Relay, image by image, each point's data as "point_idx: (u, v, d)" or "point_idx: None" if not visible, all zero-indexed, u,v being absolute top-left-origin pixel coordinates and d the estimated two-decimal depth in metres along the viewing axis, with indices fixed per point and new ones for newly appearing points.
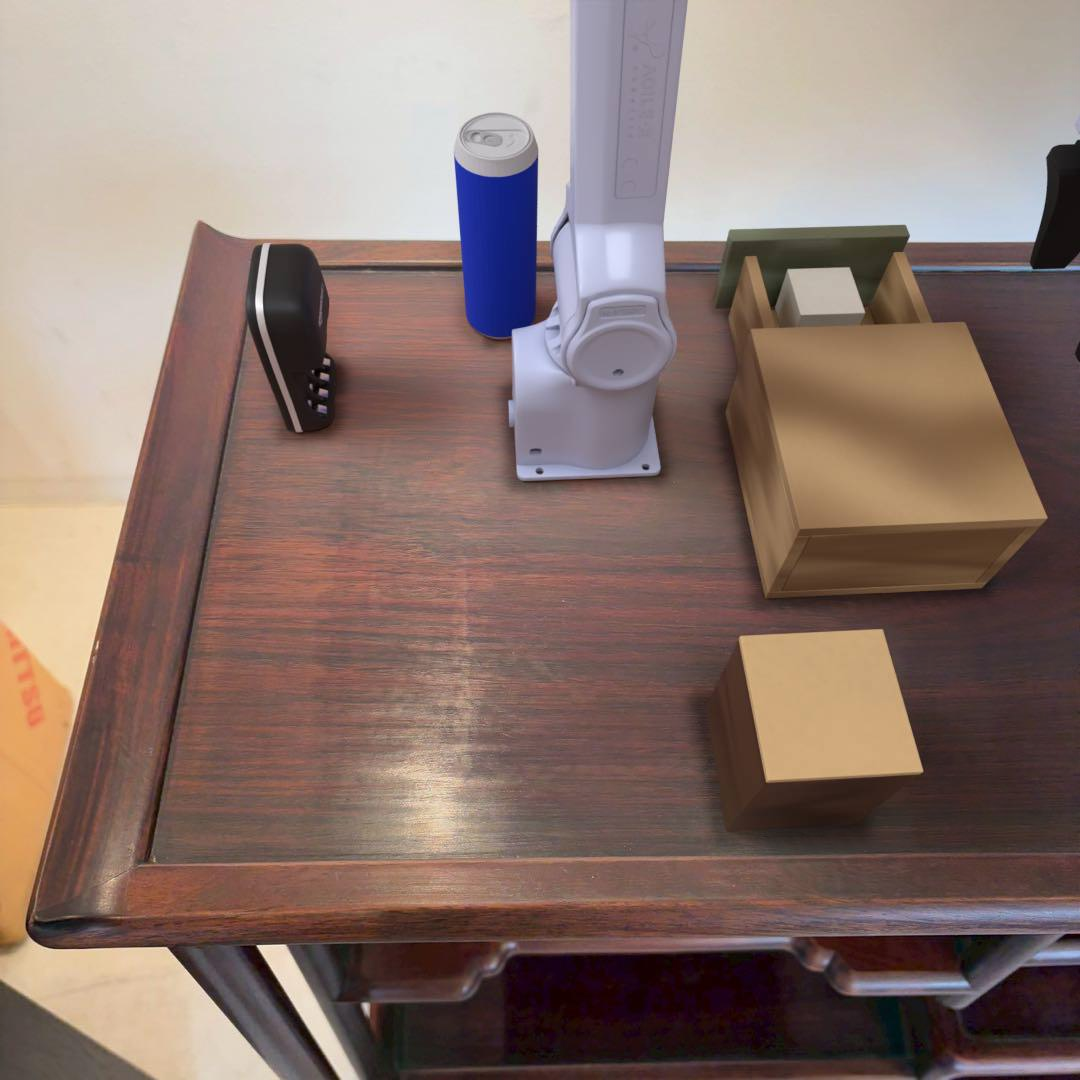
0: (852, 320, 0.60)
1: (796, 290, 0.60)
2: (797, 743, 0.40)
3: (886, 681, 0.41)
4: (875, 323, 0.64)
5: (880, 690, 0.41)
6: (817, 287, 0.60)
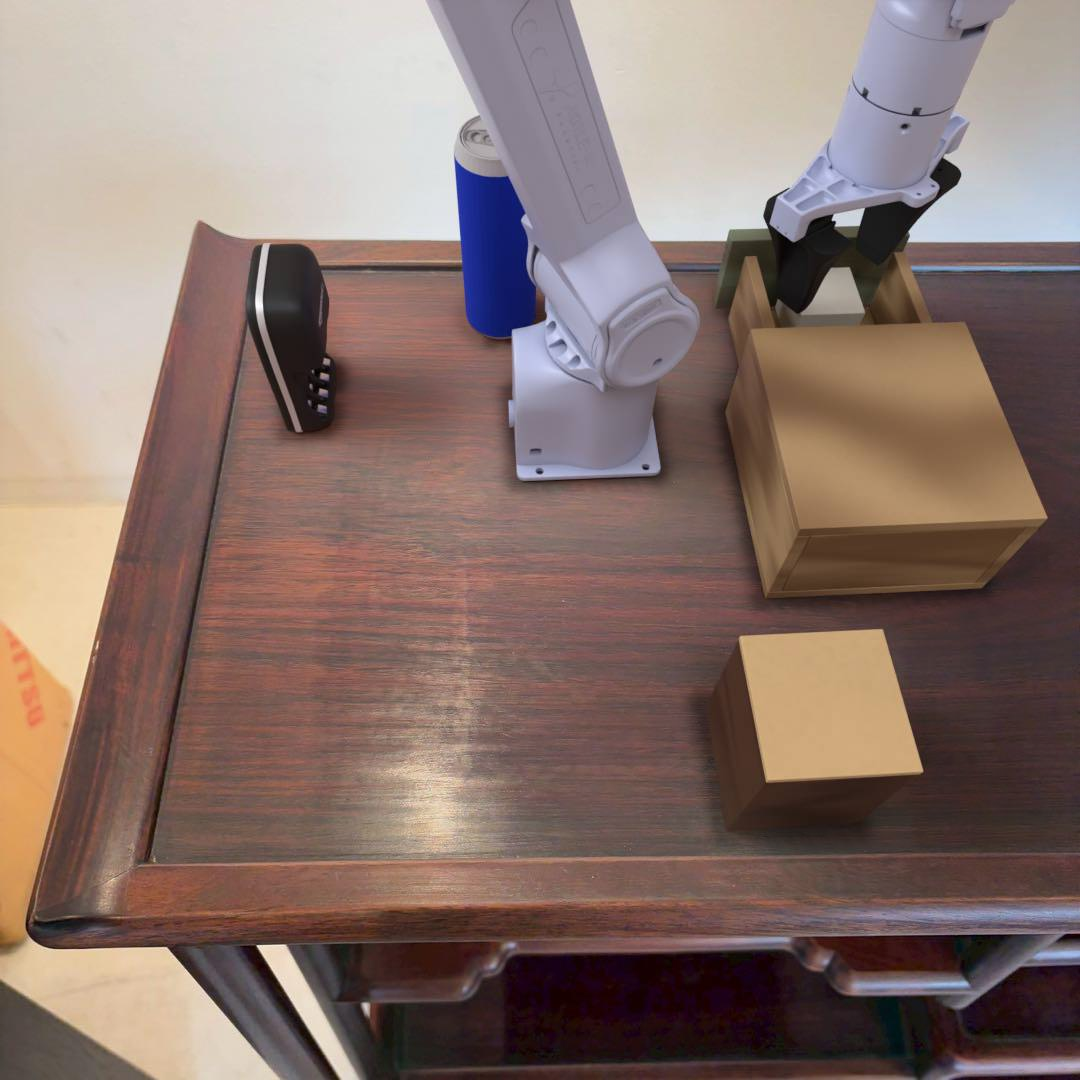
0: (852, 320, 0.60)
1: None
2: (797, 743, 0.40)
3: (886, 681, 0.41)
4: (875, 323, 0.64)
5: (880, 690, 0.41)
6: None
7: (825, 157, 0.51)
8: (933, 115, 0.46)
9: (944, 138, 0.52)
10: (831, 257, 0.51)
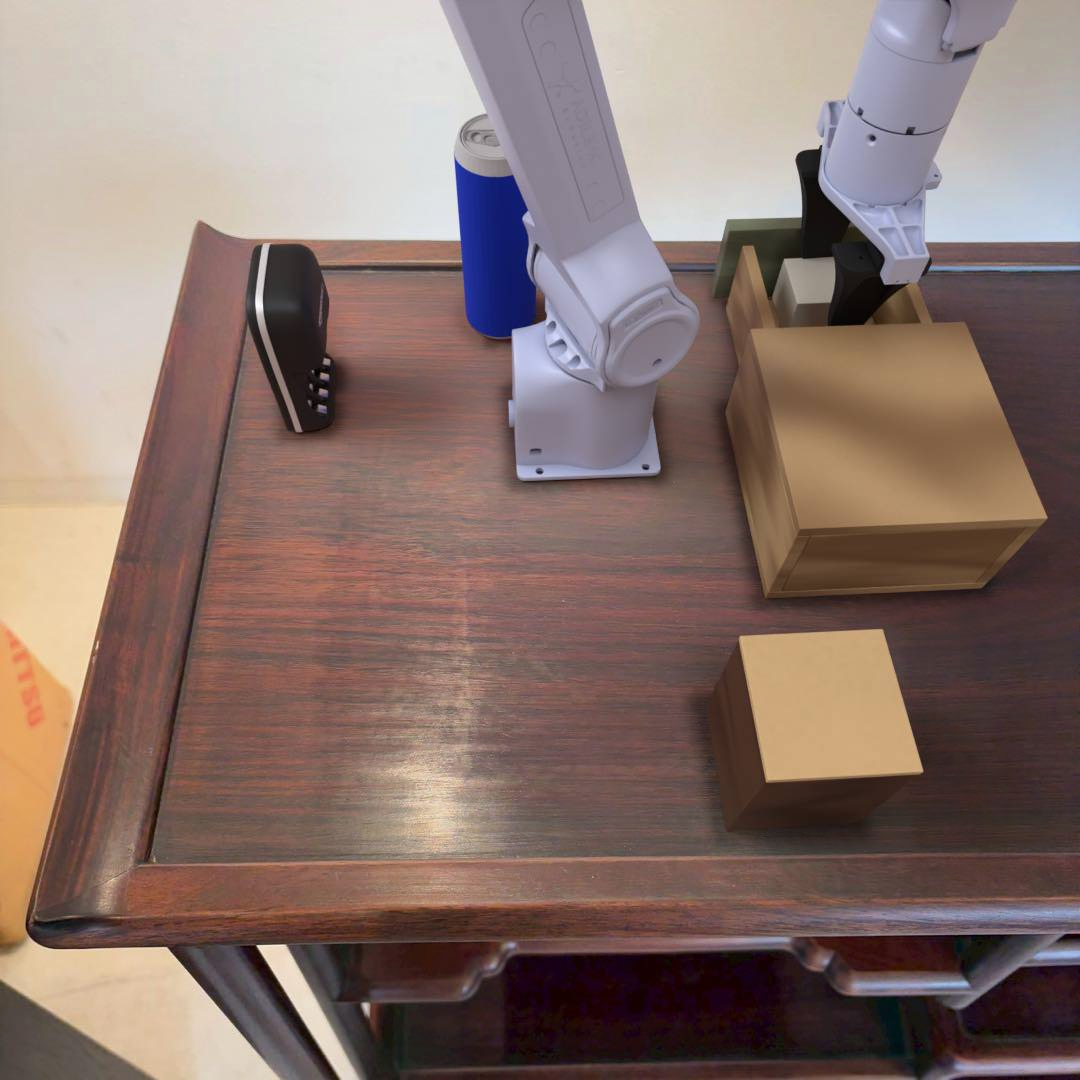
0: None
1: (793, 279, 0.61)
2: (797, 743, 0.40)
3: (886, 681, 0.41)
4: None
5: (880, 690, 0.41)
6: (813, 277, 0.61)
7: (856, 202, 0.51)
8: None
9: None
10: (930, 265, 0.52)
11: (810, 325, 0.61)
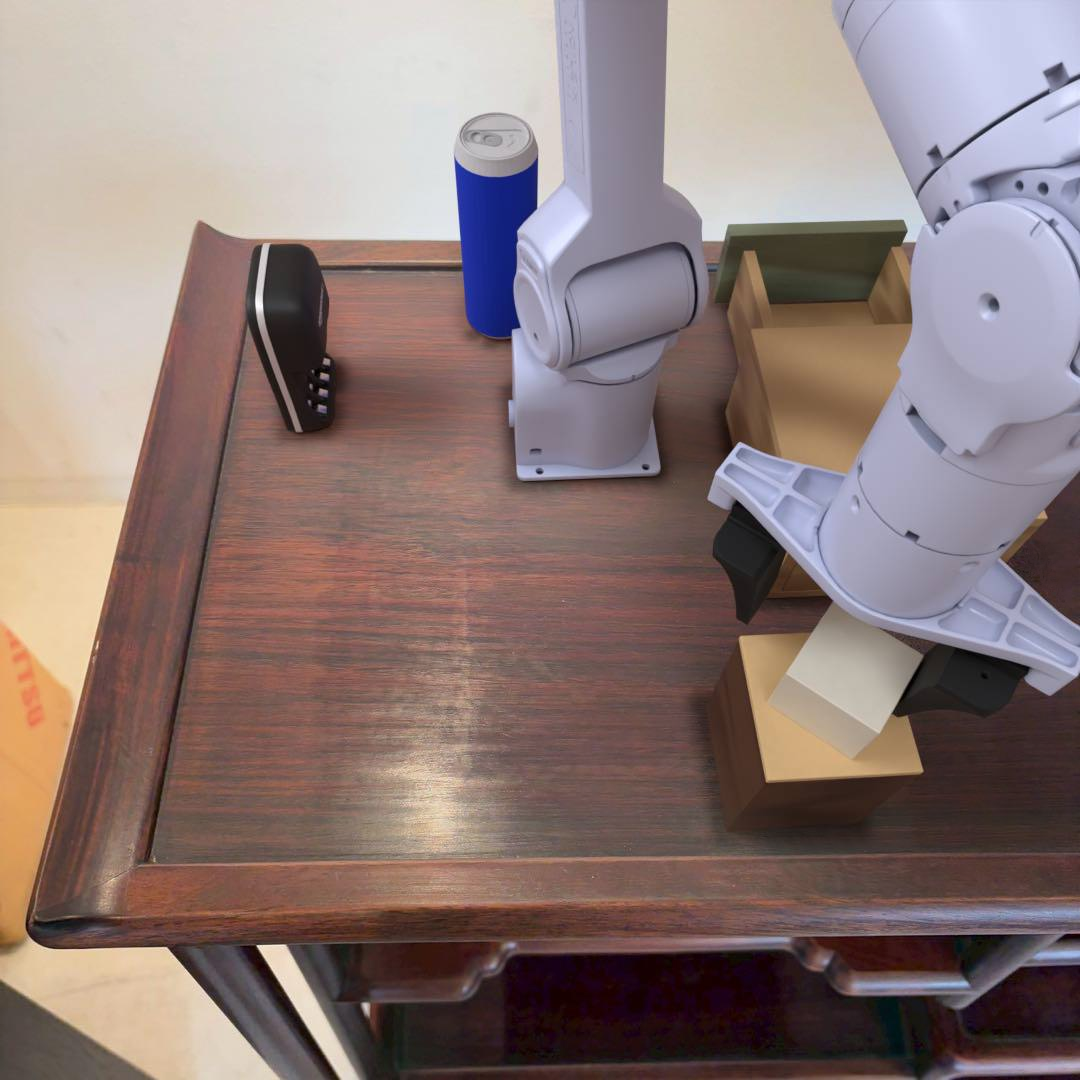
0: (859, 729, 0.37)
1: (815, 636, 0.39)
2: (797, 743, 0.40)
3: None
4: (873, 318, 0.64)
5: None
6: (847, 652, 0.38)
7: (938, 619, 0.32)
8: None
9: (801, 470, 0.35)
10: None
11: (803, 710, 0.39)
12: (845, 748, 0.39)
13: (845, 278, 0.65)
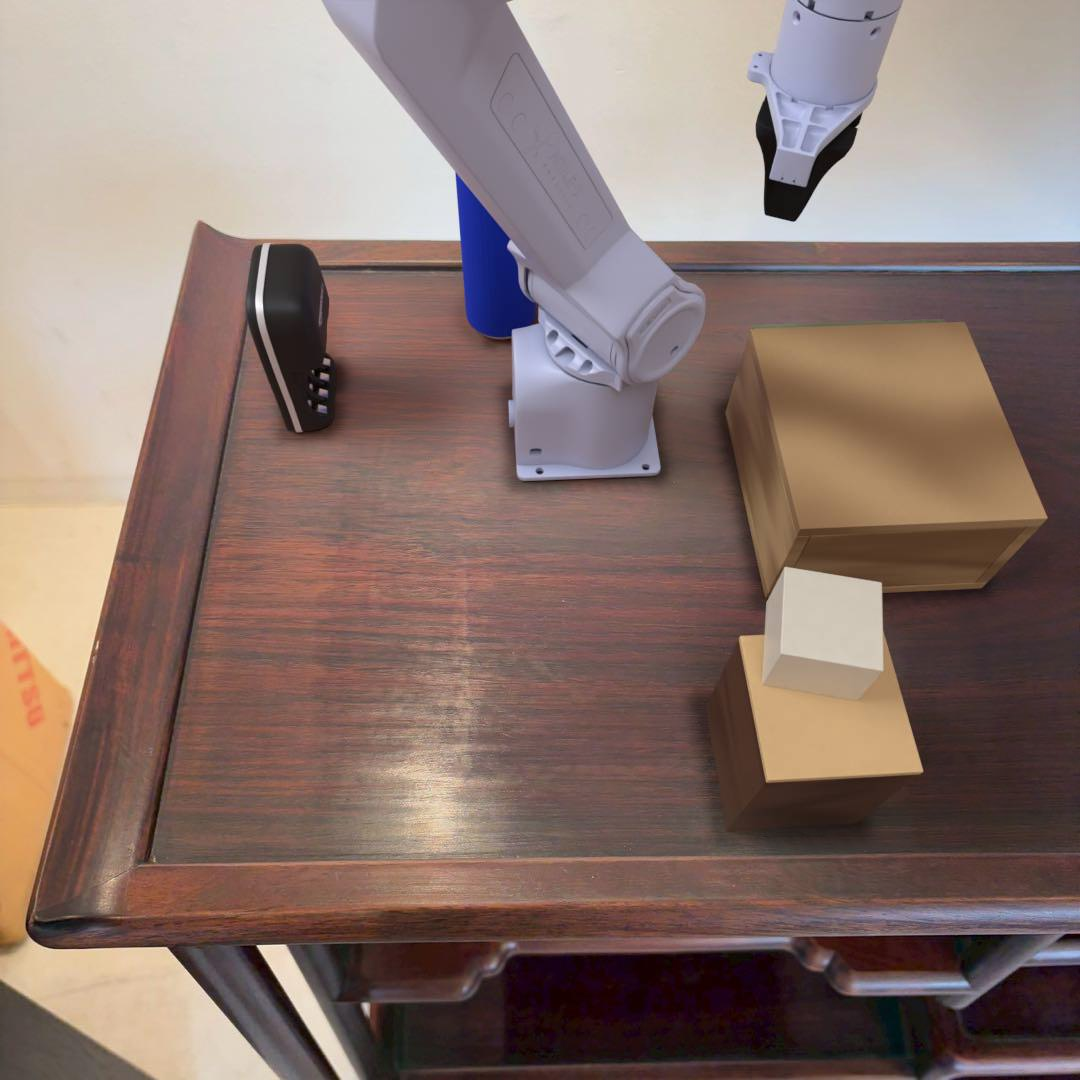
0: (862, 674, 0.38)
1: (787, 607, 0.39)
2: (797, 743, 0.40)
3: (886, 681, 0.41)
4: None
5: (880, 690, 0.41)
6: (820, 609, 0.39)
7: None
8: None
9: (784, 117, 0.47)
10: None
11: (801, 677, 0.40)
12: (849, 694, 0.40)
13: None
